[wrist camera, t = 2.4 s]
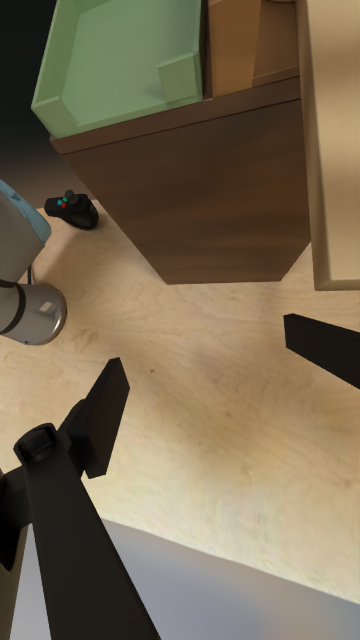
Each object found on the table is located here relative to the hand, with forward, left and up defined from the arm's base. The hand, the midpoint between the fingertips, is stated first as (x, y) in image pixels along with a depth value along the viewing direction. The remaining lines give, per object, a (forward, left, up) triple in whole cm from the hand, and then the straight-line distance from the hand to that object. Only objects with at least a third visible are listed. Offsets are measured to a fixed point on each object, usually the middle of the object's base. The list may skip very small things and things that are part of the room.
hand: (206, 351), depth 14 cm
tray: (-18, +11, +6) cm, 22 cm away
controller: (-47, -2, -23) cm, 52 cm away
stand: (-14, +15, -23) cm, 31 cm away
